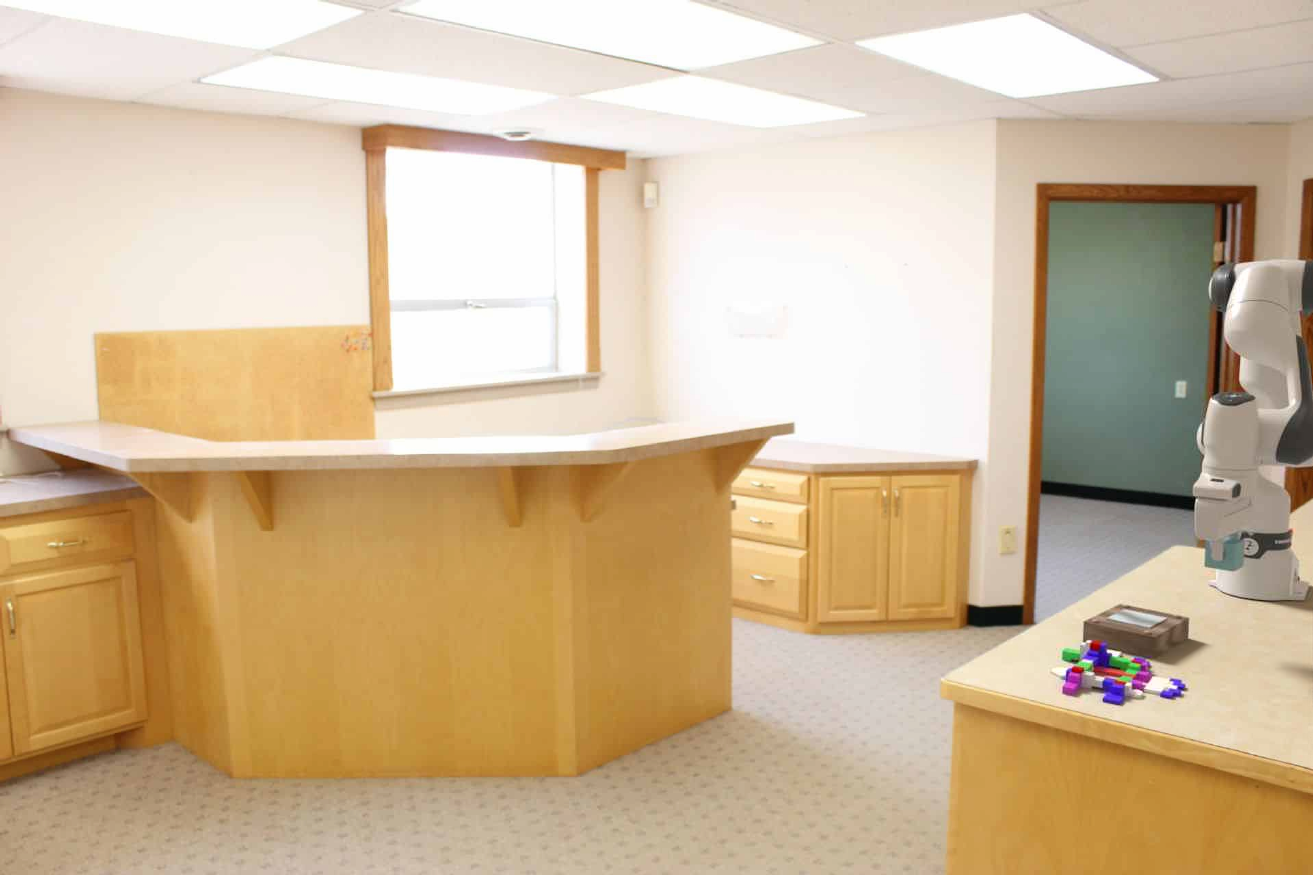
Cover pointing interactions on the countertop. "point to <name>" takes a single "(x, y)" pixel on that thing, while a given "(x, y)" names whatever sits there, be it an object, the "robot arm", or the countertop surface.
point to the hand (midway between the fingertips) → (1224, 556)
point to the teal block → (1227, 555)
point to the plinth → (1137, 630)
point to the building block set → (1112, 674)
